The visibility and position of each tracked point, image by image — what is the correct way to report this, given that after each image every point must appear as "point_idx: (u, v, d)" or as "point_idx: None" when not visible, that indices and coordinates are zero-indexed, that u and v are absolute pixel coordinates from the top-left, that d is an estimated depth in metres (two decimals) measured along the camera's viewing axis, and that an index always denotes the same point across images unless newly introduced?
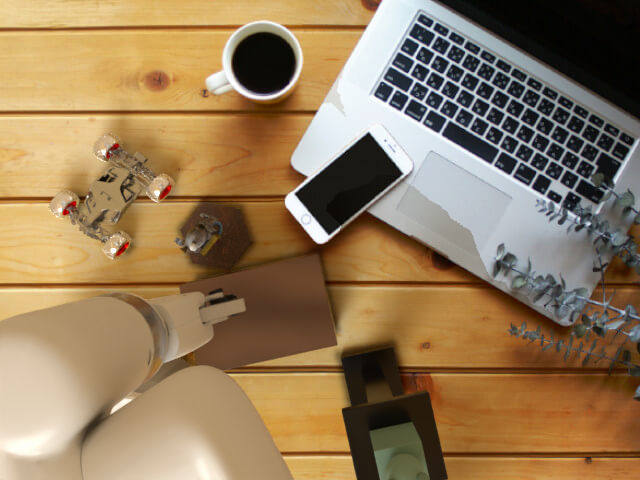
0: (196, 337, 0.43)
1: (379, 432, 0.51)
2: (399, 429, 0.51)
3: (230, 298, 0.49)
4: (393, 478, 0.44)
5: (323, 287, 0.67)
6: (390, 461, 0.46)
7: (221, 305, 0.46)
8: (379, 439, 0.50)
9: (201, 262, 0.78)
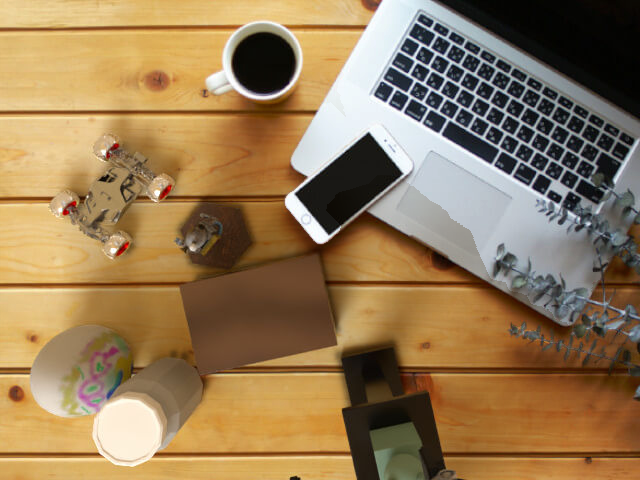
0: None
1: (379, 432, 0.51)
2: (399, 429, 0.51)
3: None
4: (393, 478, 0.44)
5: (323, 287, 0.67)
6: (390, 461, 0.46)
7: None
8: (379, 439, 0.50)
9: (201, 262, 0.78)
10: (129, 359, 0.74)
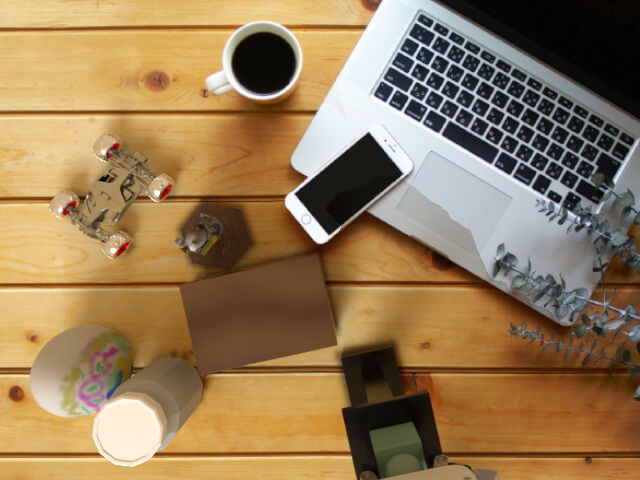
0: None
1: (379, 432, 0.51)
2: (399, 430, 0.51)
3: None
4: None
5: (323, 287, 0.67)
6: (390, 461, 0.46)
7: None
8: (379, 439, 0.50)
9: (201, 262, 0.78)
10: (129, 359, 0.74)
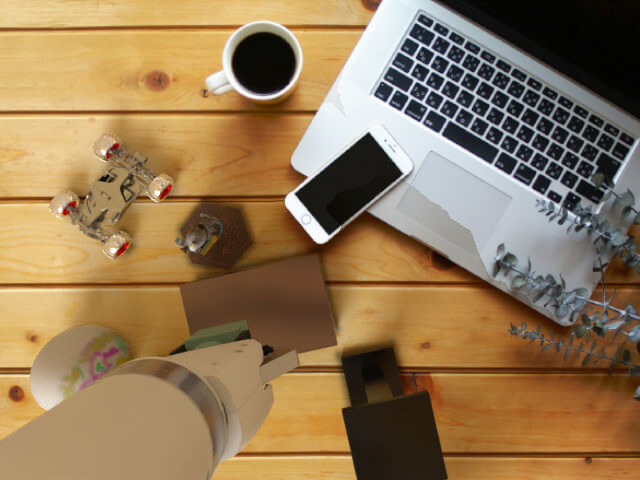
0: (260, 415, 0.30)
1: (205, 329, 0.46)
2: (226, 325, 0.45)
3: (265, 351, 0.37)
4: None
5: (323, 287, 0.67)
6: (194, 348, 0.40)
7: (278, 360, 0.35)
8: (200, 333, 0.44)
9: (201, 262, 0.78)
10: (129, 359, 0.74)
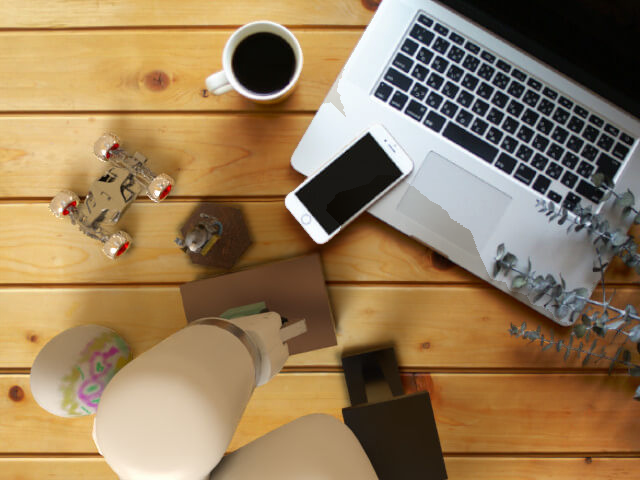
0: (281, 360, 0.44)
1: (233, 308, 0.60)
2: (250, 305, 0.59)
3: (282, 321, 0.51)
4: None
5: (323, 287, 0.67)
6: None
7: (292, 326, 0.48)
8: (230, 311, 0.58)
9: (201, 262, 0.78)
10: (129, 359, 0.74)
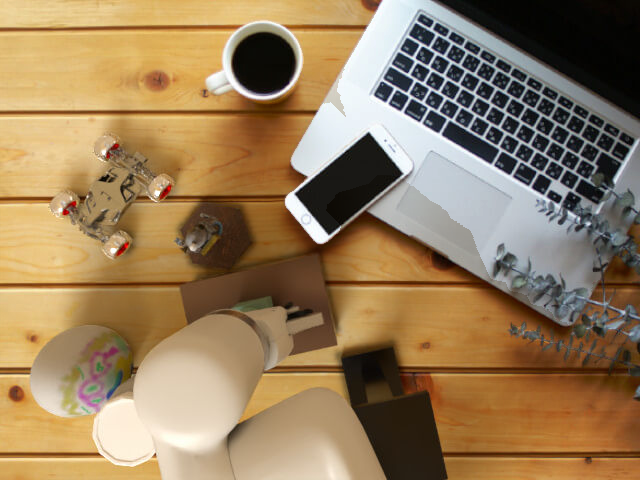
0: (287, 348, 0.49)
1: (243, 302, 0.66)
2: (258, 299, 0.66)
3: (308, 312, 0.55)
4: None
5: (323, 287, 0.67)
6: None
7: (303, 319, 0.52)
8: (240, 304, 0.65)
9: (201, 262, 0.78)
10: (129, 359, 0.74)
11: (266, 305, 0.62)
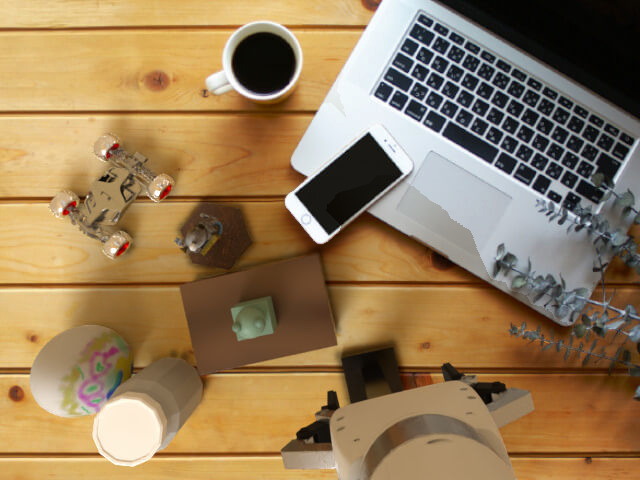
0: None
1: (243, 302, 0.66)
2: (258, 299, 0.66)
3: (501, 388, 0.36)
4: (238, 321, 0.59)
5: (323, 287, 0.67)
6: (239, 312, 0.61)
7: (509, 405, 0.34)
8: (240, 304, 0.65)
9: (201, 262, 0.78)
10: (129, 359, 0.74)
11: (266, 305, 0.62)
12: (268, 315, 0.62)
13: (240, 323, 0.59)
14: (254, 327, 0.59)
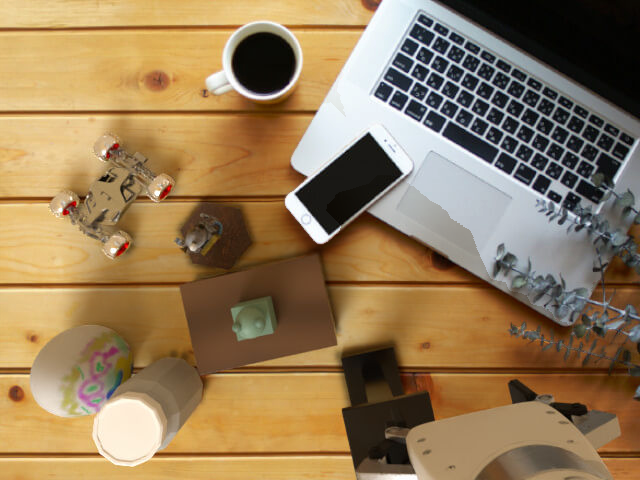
0: None
1: (243, 302, 0.66)
2: (258, 299, 0.66)
3: (582, 411, 0.35)
4: (238, 321, 0.59)
5: (323, 287, 0.67)
6: (239, 312, 0.61)
7: (598, 430, 0.32)
8: (240, 304, 0.65)
9: (201, 262, 0.78)
10: (129, 359, 0.74)
11: (266, 305, 0.62)
12: (268, 315, 0.62)
13: (240, 323, 0.59)
14: (254, 327, 0.59)
